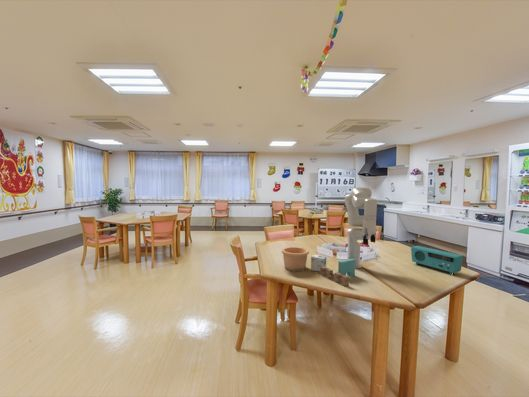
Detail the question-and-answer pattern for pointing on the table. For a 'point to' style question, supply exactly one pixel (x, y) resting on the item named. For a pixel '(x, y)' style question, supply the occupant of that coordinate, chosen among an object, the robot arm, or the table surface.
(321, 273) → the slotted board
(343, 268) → the teal panel
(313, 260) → the light bulb box
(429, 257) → the radio
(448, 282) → the table surface
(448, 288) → the table surface
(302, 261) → the pottery
